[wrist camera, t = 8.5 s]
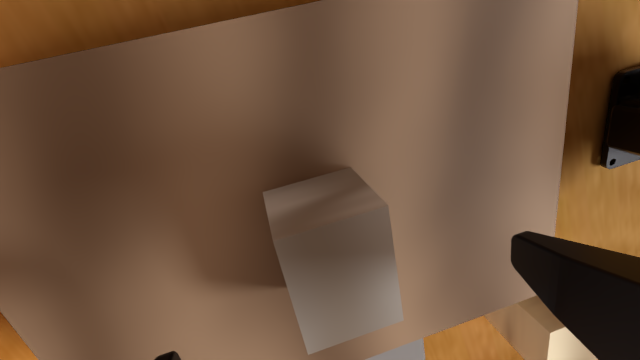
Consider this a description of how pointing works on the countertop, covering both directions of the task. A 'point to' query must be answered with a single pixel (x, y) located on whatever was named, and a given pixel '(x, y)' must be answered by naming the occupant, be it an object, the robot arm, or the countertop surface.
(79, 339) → the lid
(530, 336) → the block
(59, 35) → the countertop surface
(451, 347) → the countertop surface
